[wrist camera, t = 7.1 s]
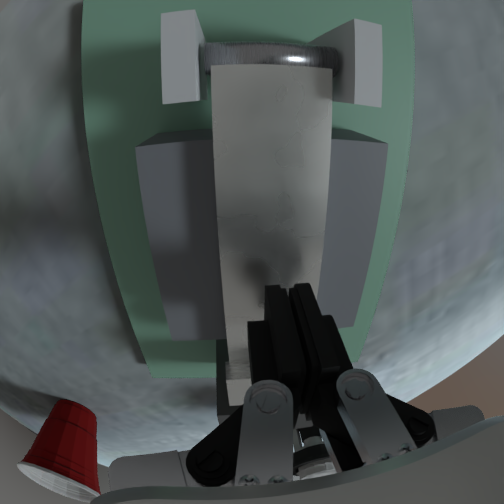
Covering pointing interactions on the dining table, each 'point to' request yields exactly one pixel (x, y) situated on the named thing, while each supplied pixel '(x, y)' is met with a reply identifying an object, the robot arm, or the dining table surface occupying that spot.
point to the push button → (310, 454)
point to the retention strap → (268, 176)
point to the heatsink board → (145, 112)
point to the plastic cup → (65, 453)
